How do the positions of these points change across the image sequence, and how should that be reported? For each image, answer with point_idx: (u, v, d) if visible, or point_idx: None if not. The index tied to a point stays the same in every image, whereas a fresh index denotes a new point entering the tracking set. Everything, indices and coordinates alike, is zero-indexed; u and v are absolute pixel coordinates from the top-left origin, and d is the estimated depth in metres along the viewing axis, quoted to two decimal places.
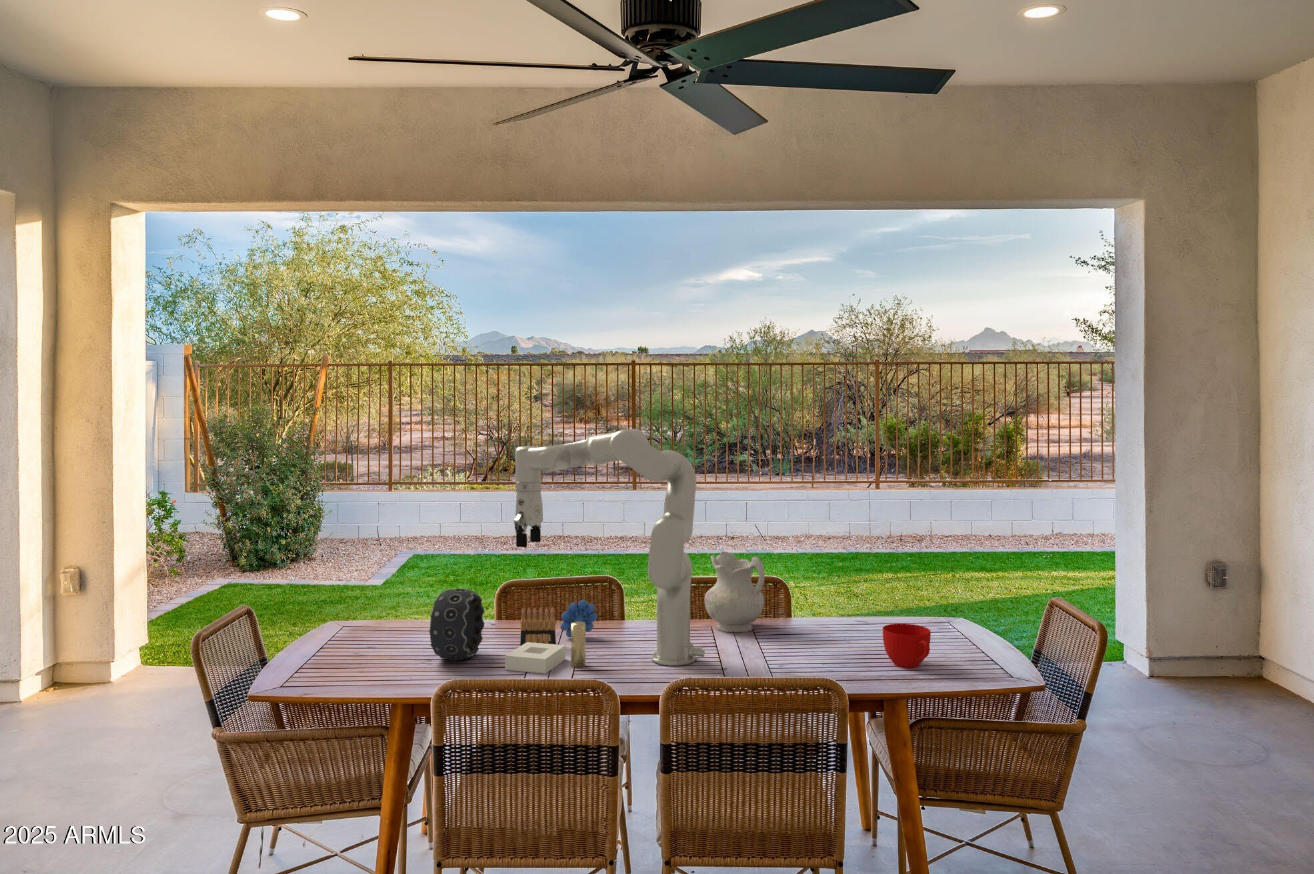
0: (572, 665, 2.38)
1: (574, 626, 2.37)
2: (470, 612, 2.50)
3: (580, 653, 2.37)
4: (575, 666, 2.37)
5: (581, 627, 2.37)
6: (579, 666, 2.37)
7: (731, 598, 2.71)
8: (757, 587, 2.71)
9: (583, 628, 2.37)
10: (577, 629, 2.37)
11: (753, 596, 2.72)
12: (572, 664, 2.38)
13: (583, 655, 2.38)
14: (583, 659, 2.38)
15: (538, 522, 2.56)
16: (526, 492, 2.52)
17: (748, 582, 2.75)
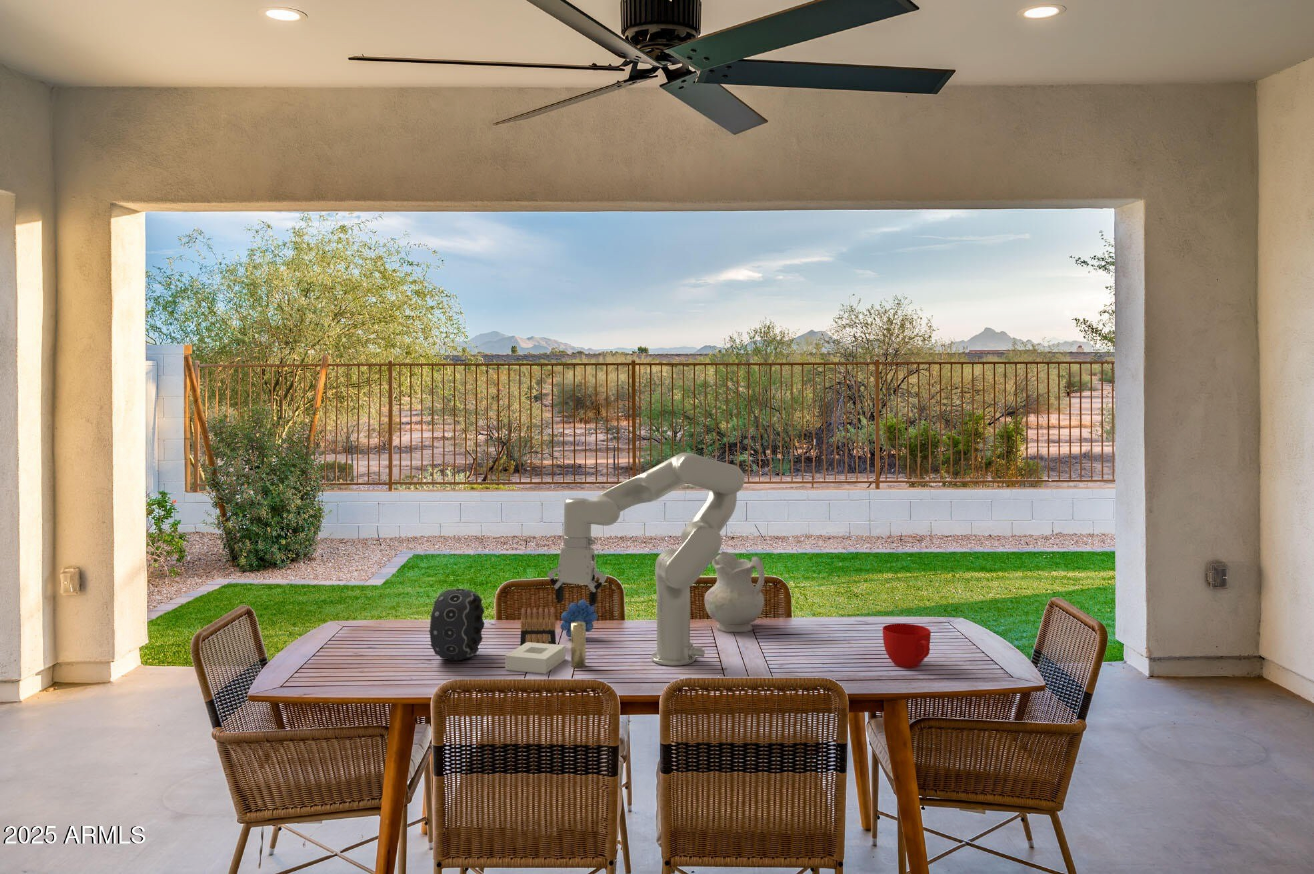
0: (572, 665, 2.38)
1: (574, 626, 2.37)
2: (470, 612, 2.50)
3: (580, 653, 2.37)
4: (575, 666, 2.37)
5: (581, 627, 2.37)
6: (579, 666, 2.37)
7: (731, 598, 2.71)
8: (757, 587, 2.71)
9: (583, 628, 2.37)
10: (577, 629, 2.37)
11: (753, 596, 2.72)
12: (572, 664, 2.38)
13: (583, 655, 2.38)
14: (583, 659, 2.38)
15: None
16: (590, 546, 2.38)
17: (748, 582, 2.75)
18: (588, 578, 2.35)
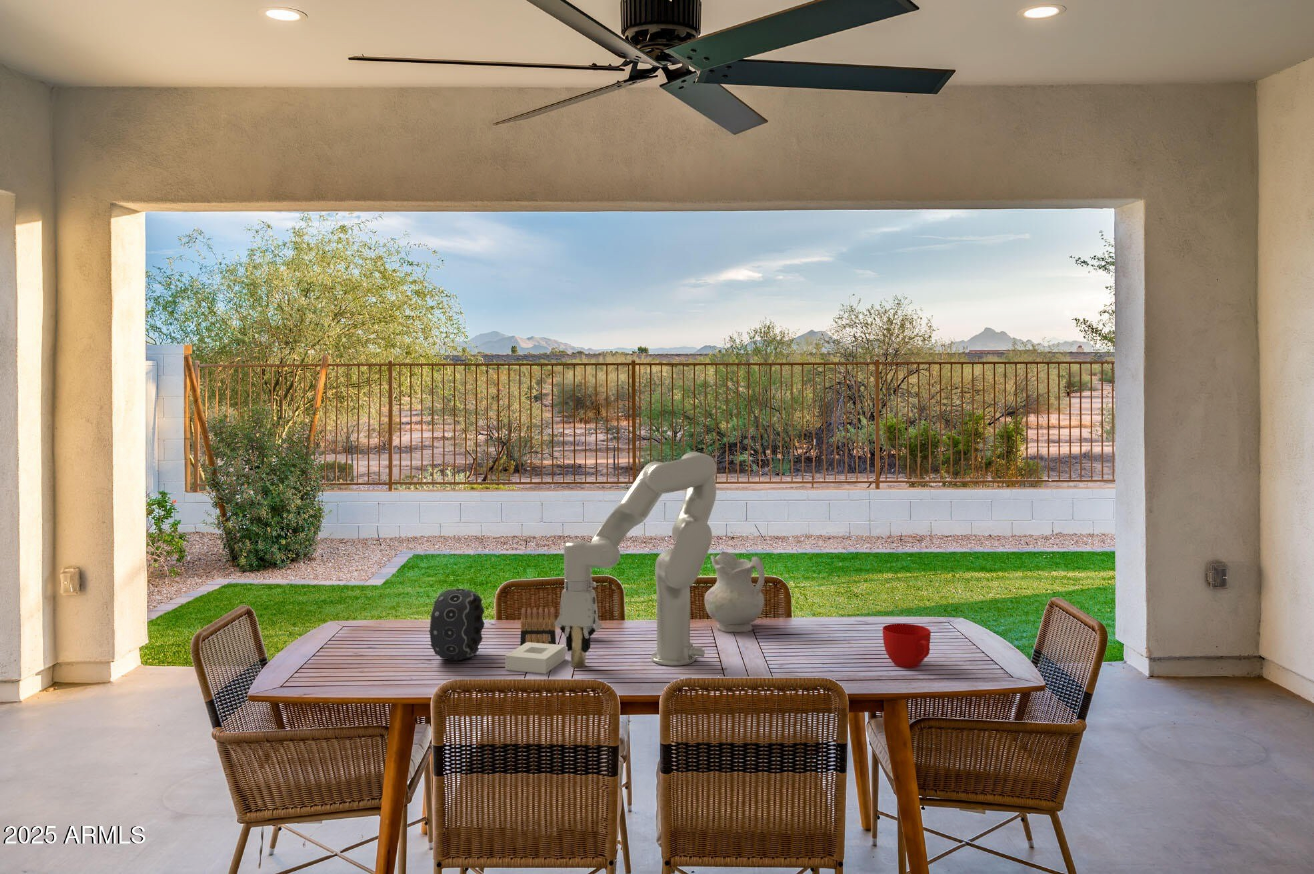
0: (572, 665, 2.38)
1: (574, 626, 2.37)
2: (470, 612, 2.50)
3: (580, 653, 2.37)
4: (575, 666, 2.37)
5: (581, 627, 2.37)
6: (579, 666, 2.37)
7: (731, 598, 2.71)
8: (757, 587, 2.71)
9: None
10: (577, 629, 2.37)
11: (753, 596, 2.72)
12: (572, 664, 2.38)
13: (583, 655, 2.38)
14: (583, 659, 2.38)
15: None
16: (591, 589, 2.38)
17: (748, 582, 2.75)
18: (589, 621, 2.35)
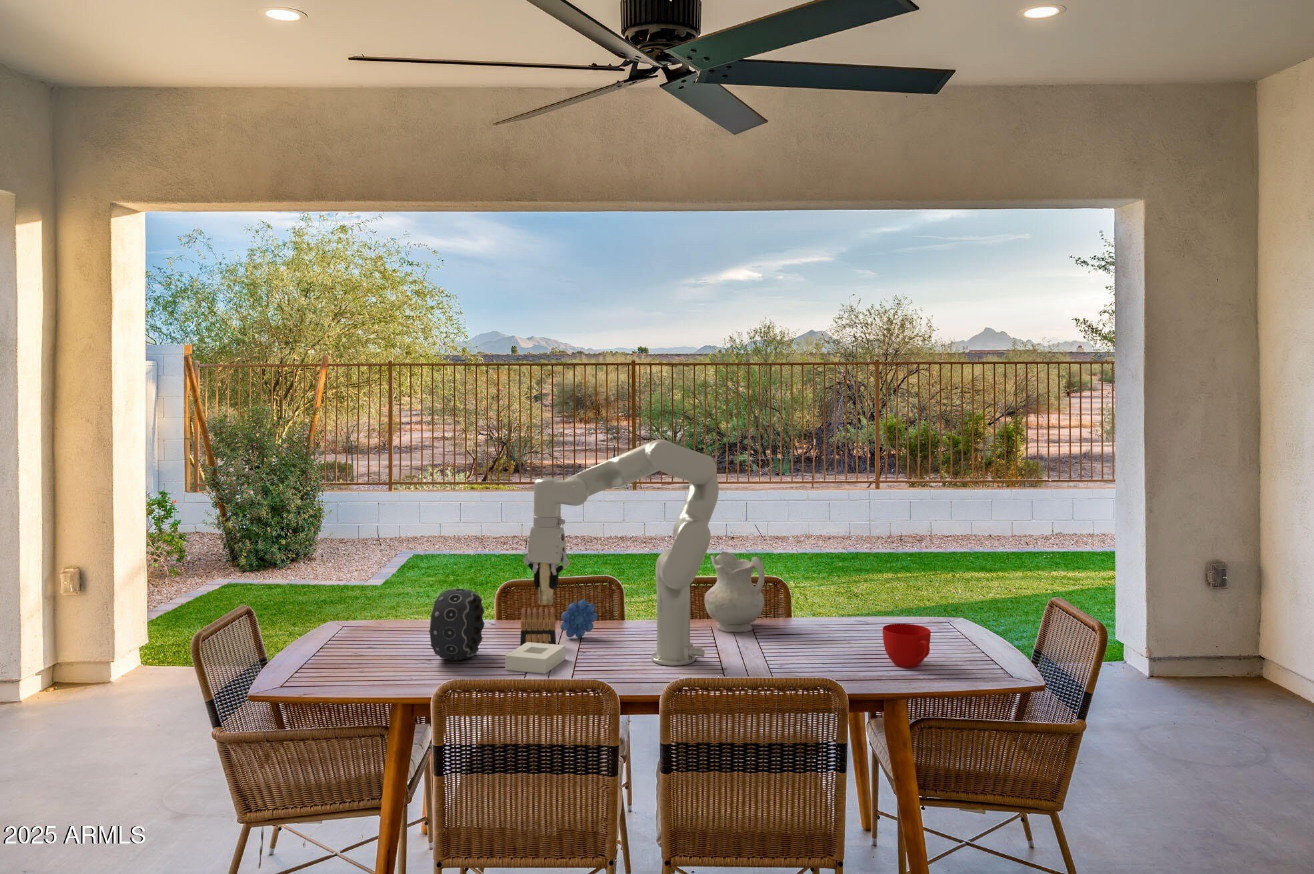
0: (539, 602, 2.38)
1: (542, 563, 2.37)
2: (470, 612, 2.50)
3: (548, 590, 2.37)
4: (542, 603, 2.37)
5: (549, 564, 2.37)
6: (546, 603, 2.37)
7: (731, 598, 2.71)
8: (757, 587, 2.71)
9: None
10: (545, 566, 2.37)
11: (753, 596, 2.72)
12: (539, 601, 2.38)
13: (550, 592, 2.38)
14: (550, 596, 2.38)
15: None
16: None
17: (748, 582, 2.75)
18: (557, 557, 2.36)
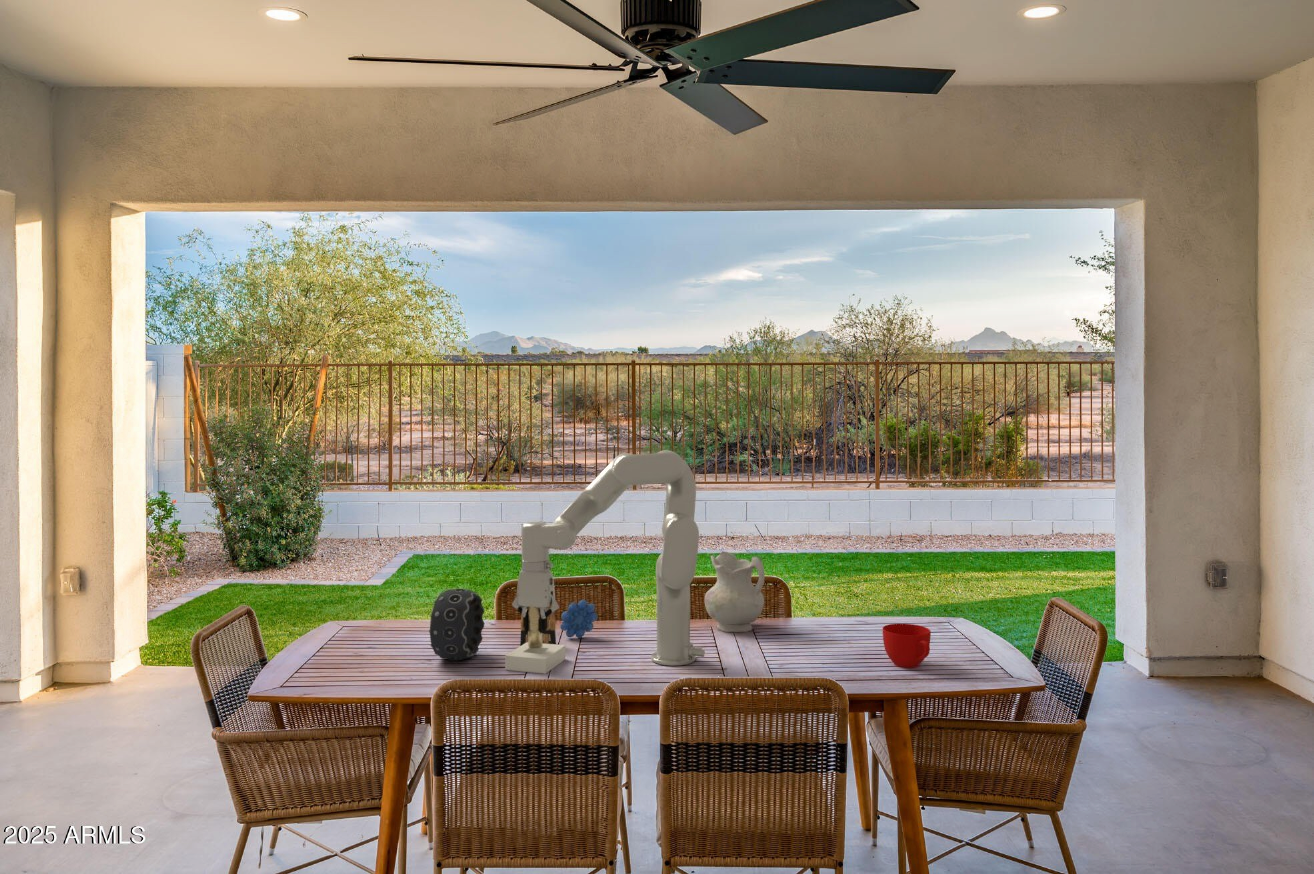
0: (529, 645, 2.39)
1: (531, 607, 2.38)
2: (470, 612, 2.50)
3: (537, 633, 2.38)
4: (532, 646, 2.38)
5: None
6: (536, 646, 2.38)
7: (731, 598, 2.71)
8: (757, 587, 2.71)
9: None
10: (534, 610, 2.38)
11: (753, 596, 2.72)
12: (529, 644, 2.39)
13: (540, 635, 2.39)
14: (540, 639, 2.39)
15: None
16: (548, 570, 2.40)
17: (748, 582, 2.75)
18: (546, 602, 2.37)
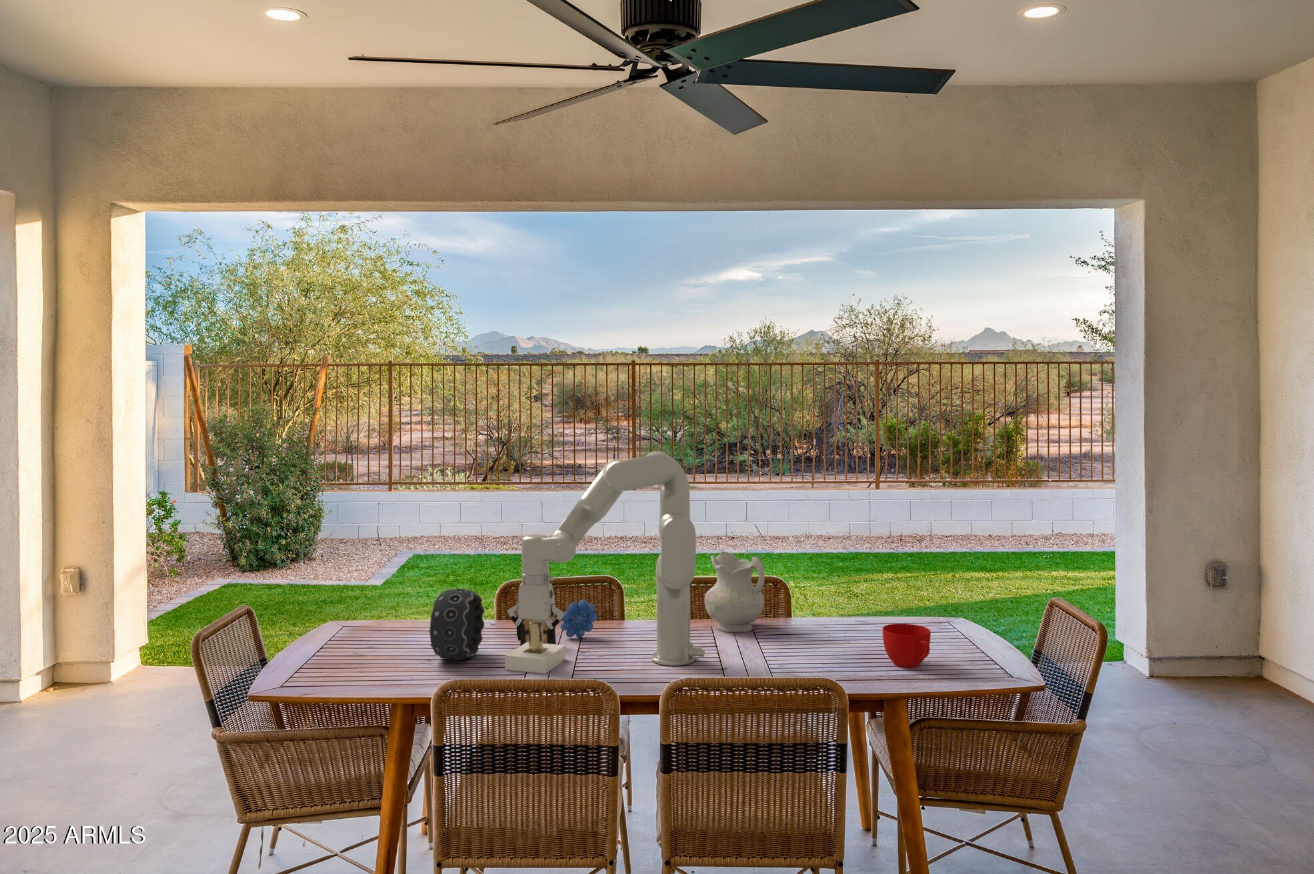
0: None
1: (531, 625, 2.38)
2: (470, 612, 2.50)
3: (538, 652, 2.38)
4: None
5: (539, 626, 2.38)
6: None
7: (731, 598, 2.71)
8: (757, 587, 2.71)
9: (540, 627, 2.39)
10: (534, 628, 2.38)
11: (753, 596, 2.72)
12: None
13: None
14: None
15: None
16: (548, 583, 2.40)
17: (748, 582, 2.75)
18: (546, 614, 2.37)
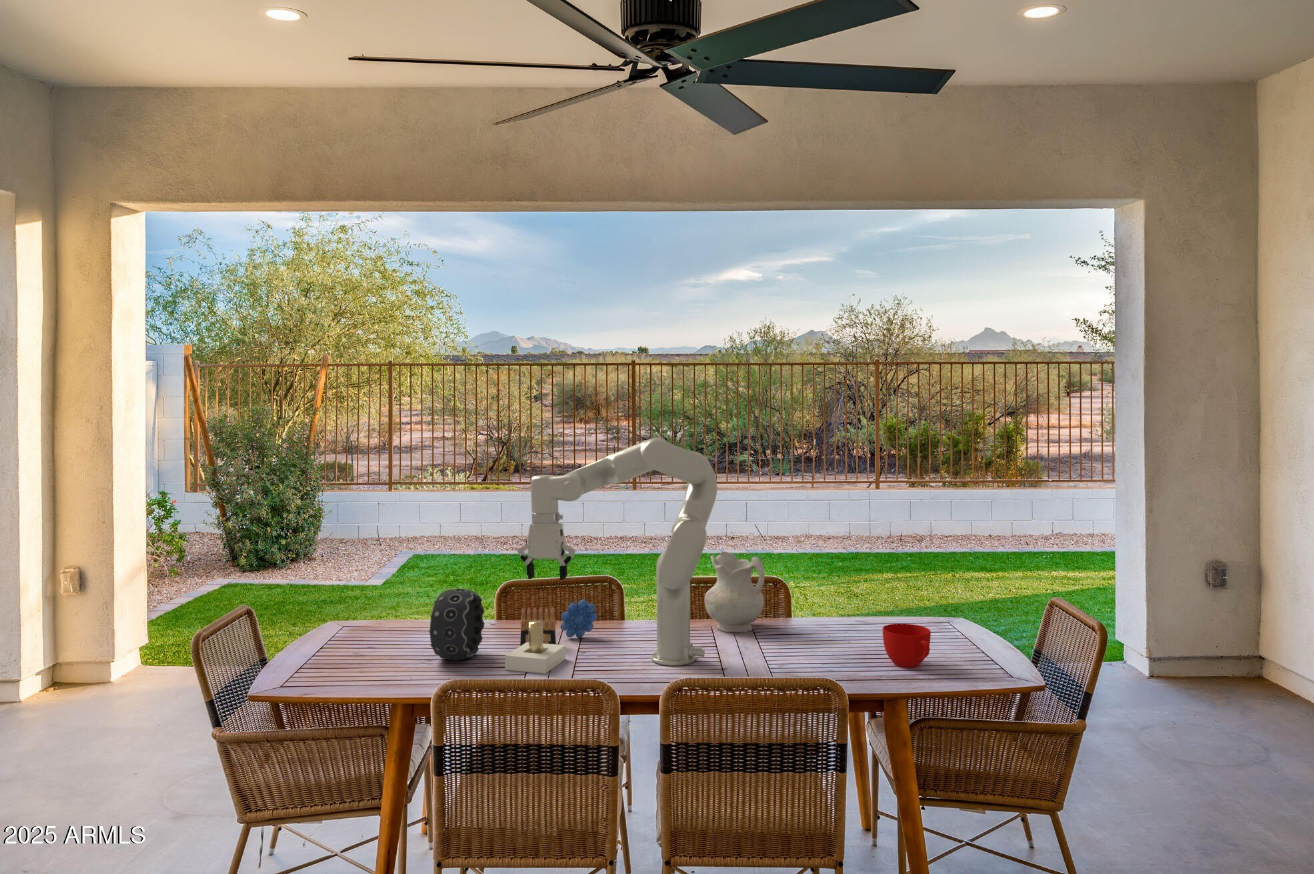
0: None
1: (531, 625, 2.38)
2: (470, 612, 2.50)
3: (538, 652, 2.38)
4: None
5: (539, 626, 2.38)
6: None
7: (731, 598, 2.71)
8: (757, 587, 2.71)
9: (540, 627, 2.39)
10: (534, 628, 2.38)
11: (753, 596, 2.72)
12: None
13: None
14: None
15: None
16: (558, 522, 2.42)
17: (748, 582, 2.75)
18: (557, 552, 2.39)
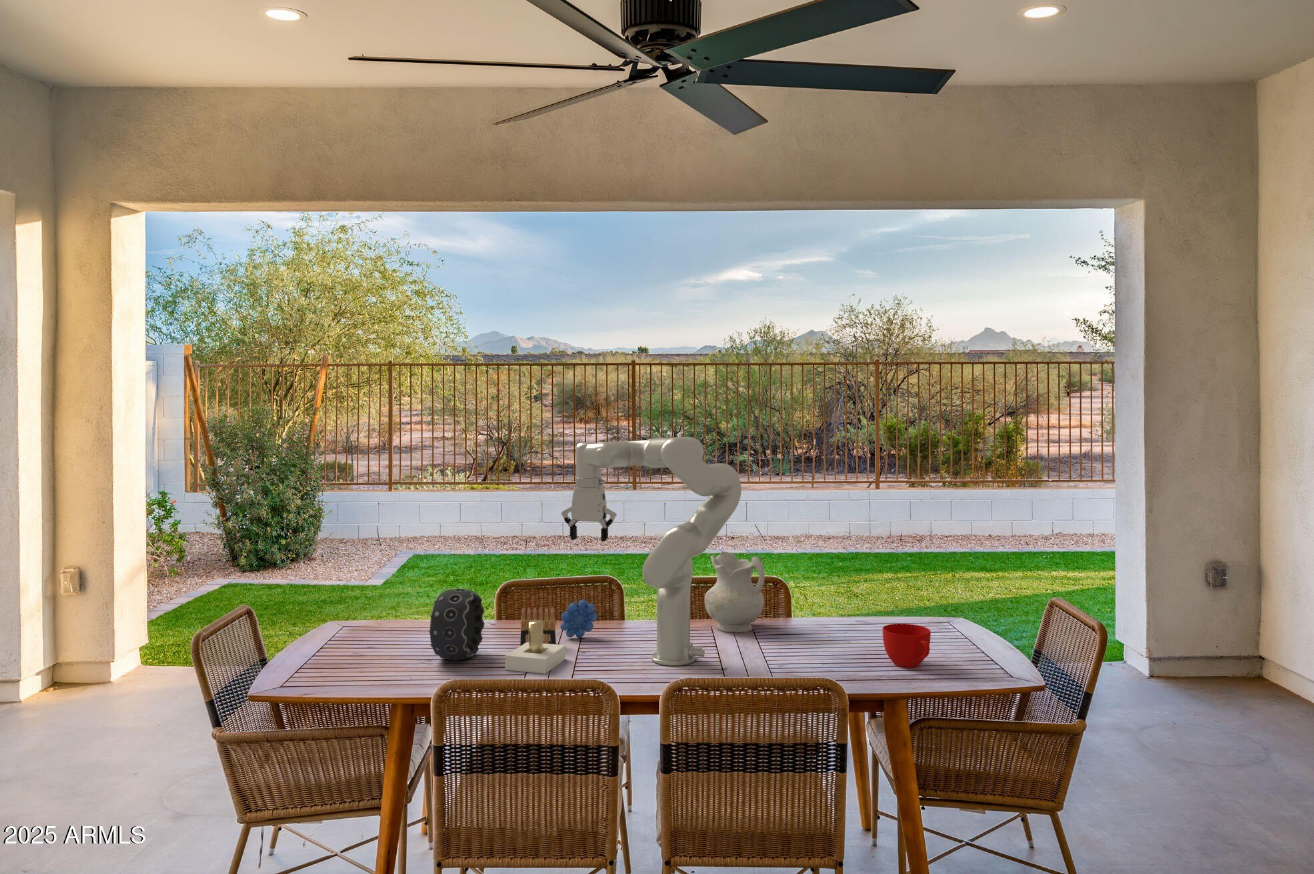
0: None
1: (531, 625, 2.38)
2: (470, 612, 2.50)
3: (538, 652, 2.38)
4: None
5: (539, 626, 2.38)
6: None
7: (731, 598, 2.71)
8: (757, 587, 2.71)
9: (540, 627, 2.39)
10: (534, 628, 2.38)
11: (753, 596, 2.72)
12: None
13: None
14: None
15: None
16: None
17: (748, 582, 2.75)
18: (599, 515, 2.54)
